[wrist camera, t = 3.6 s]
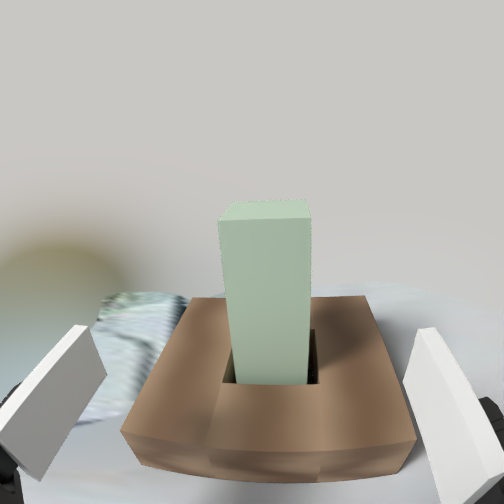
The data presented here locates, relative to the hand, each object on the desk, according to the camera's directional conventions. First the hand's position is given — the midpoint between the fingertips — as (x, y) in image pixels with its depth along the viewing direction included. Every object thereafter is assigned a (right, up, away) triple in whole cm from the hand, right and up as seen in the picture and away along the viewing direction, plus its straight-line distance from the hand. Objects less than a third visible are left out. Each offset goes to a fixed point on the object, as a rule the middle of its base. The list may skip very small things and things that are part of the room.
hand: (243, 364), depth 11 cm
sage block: (+2, -7, +11) cm, 13 cm away
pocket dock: (+2, -7, +11) cm, 13 cm away
